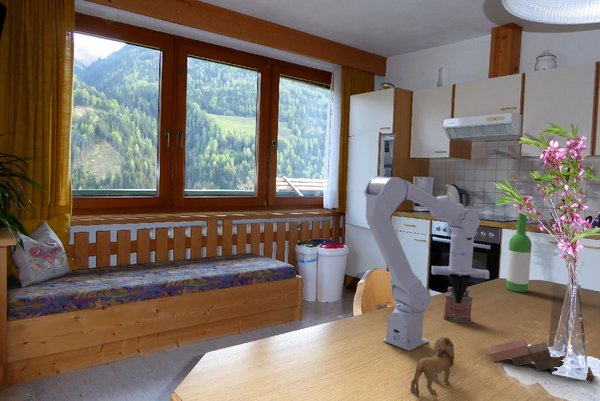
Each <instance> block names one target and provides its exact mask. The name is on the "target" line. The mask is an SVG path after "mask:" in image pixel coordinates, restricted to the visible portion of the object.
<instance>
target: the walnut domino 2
mask: <svg viewBox="0 0 600 401" xmlns="http://www.w3.org/2000/svg"><path fill="white" fill-rule="evenodd" d="M563 358H565V356H560V357H551V358H550V359H545V360H541V361H536V362H533V364H534V366H535V368H536V371H537V370H538V371H542V370H548V369H549V370H550V368H554V367H560V366H562V365H563V363H564V362H563V361H561V360H563Z"/></svg>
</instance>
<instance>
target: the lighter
mask: <svg viewBox="0 0 600 401" xmlns="http://www.w3.org/2000/svg"><path fill="white" fill-rule="evenodd" d="M447 292H448V293H445V294H444V298H445V300H444V313H443V314H444V315H443V318H444V319H443V318H442V319H443V320H444V321H451V322H457V323H459V322H460V323H471V322H472V316H471V315H472V305H473V303H472V302H473V298H474V297H473V296H472V295H469V294H470V289H469V288H467V289H466V291H465V293H464V295H463V298H462V301H461V303H455V298H454V291H453V287H452V286H448V287H447Z"/></svg>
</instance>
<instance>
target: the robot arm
mask: <svg viewBox="0 0 600 401" xmlns="http://www.w3.org/2000/svg"><path fill="white" fill-rule="evenodd" d="M366 184H367V185H366V187H365V189H364V191H363V193H364V196H365V219H366V222H367V224H368V226H369V228H370V231H371V233H372V235H373V238H374V240H375V242H376V244H377V246H378V249H379V251H380V254H381V255H382V258H383V260H384V262H385V264H386V267H387V269H388V271H389V274H390V276H391V278H390V279H389V280H388V281H389V284H390V290H391V291H390V293H391V294H390V295H391V296H392V298H393V299H394V304H395V307H394V309H393V311H392V312H390V314H388V317H387V320H386V321H387V322H386V332H385V333H386V334H385V338H383V339H382V340H383V342H385V343H388V344H390V345H393V346H395V347H398V348H401V349H403V350H406V351H411V350H414V349H416V348H418V347H420V346H423V345H425V344H426V343H428V342H430V340H429V339H427V338H424V337H423V331H424V330H423V329H424V313H425V312H426V309H427V308H428V307H429V306H430V304H431V302H432V295H431V292H430V291H429V289H428V288H426V287H425V286H424V284H423V282H422V280H421V279H420V278H419V277H418V276H417V275H416V274H415V273H414V272H413V269H412V268H411V265H410V262H409V260H408V258H407V255H406V253H405V251H404V249H403V246H402V244H401V242H400V239H399V237H398V235H397V232H396V230H395V227H394V225H393V222H392V220H391V217H392V214H394V212H395V211H396V210H397V208H399V206H400V205H401V203H403V201H404V200H406V201H407V200H410V201H411V202H414V203H415V204H419V205H421V206H422V207H425V208H427V209H428V210H429V213H430V215H431V216H432V217H434V218H437V219H439V221H440V220H441V221H442V222H444V223H447V224H448V226H449V227H450V228H451V231H450V232H451V233H450V235H451V236H450V247H449V248H450V250H449V264H448V266H446V265H444V266H443V265H441V266H439V265H431V274H432V275H435V276H436V275H445V276H447V277H448V278H449V280H450V284H451V287H453V291H454V298H455V303H461V301H462V298H463V295H464V294H465V291H466V289H468V287H469V286H470V284H471V282H472V278H478V279H479V278H480V279H481V278H482V279H485V280H486V279H487V280H489V279H490V271H489V270H488V269H479V268H474V267H473V255H474V254H473V253H474V241H475V237H476V235H477V230H478V228H479V226H480V224H481V219H480V218H479V215H478V213H477V211H475V210H474V209H469V208H465V207H464V204H462V203H460V202H459V203H457V202H456V201H453V200H451V197H450V196H449V195H438V196H436V197H435V196H434V195H432V194H430V193H428V192H427V191H425V190H424V189H421V187H418V186H417V185H415V184H413V183H412V182H411V181H408V180H404V179H402V178H400V177H397V176H395V177H389V176H388V177H387V176H381V175H376V176H373V177H372V178H370V179H369V180H368V182H367V183H366Z"/></svg>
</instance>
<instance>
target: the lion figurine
mask: <svg viewBox="0 0 600 401" xmlns="http://www.w3.org/2000/svg"><path fill="white" fill-rule="evenodd" d="M454 346H455V344H454V343H453V341H452V340H451V339H450V338H449V337H448V336H442V335H441V336H440V337H439V338H437V340H436V341H435V342H434V343H433V349H434V355H433V356H431V357H423V358H421V359H419V361H417V364H416V368H415V373H414V376H413V379H412V380H411V382H410V390H409V391H410V392H412V393H415V397H416V398H418V397H419V395H420V390H419V383H420V382H419V381H420V378H421V377H422V375H423V374H424V377H425V380H426V383H427V384H426V389H427V390H428V392H429V393H430V394H431V395H437V391H436V390H435V389H433V388H432V384H433V381H434V382H437V381H438V379H439V378H438V375H439V374H441V373H444V375H443V376H444V377H443V383H444V384H445V385H447V386H449V385H451V382H450V381H449V379H450V373H451V369H450V368H451V367H452V366H453V365H454V362H455V361H454V360H455V347H454Z"/></svg>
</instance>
